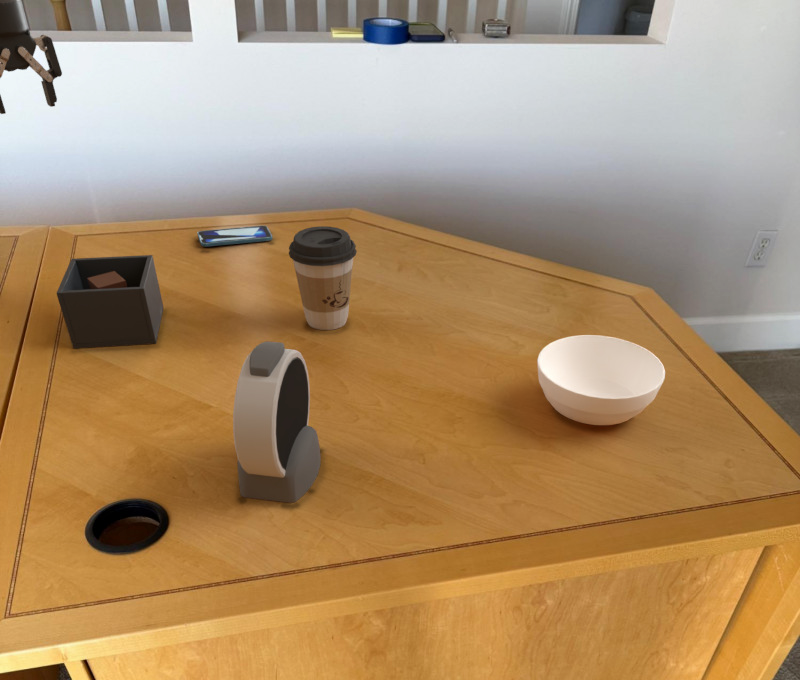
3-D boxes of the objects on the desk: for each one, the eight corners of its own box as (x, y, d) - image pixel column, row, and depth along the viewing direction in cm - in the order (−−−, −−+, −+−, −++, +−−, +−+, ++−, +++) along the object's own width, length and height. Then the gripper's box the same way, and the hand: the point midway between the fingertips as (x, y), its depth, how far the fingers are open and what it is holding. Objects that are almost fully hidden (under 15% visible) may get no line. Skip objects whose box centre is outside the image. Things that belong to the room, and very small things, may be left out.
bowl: (509, 390, 120) (514, 348, 115) (607, 367, 126) (616, 326, 121) (573, 454, 108) (582, 410, 103) (679, 425, 113) (692, 382, 108)
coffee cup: (320, 342, 131) (314, 256, 121) (282, 319, 137) (273, 235, 127) (372, 322, 137) (370, 237, 127) (332, 300, 143) (328, 218, 133)
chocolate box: (109, 332, 132) (97, 288, 126) (98, 322, 135) (86, 277, 129) (136, 324, 134) (126, 280, 129) (125, 314, 137) (114, 270, 131)
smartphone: (273, 237, 163) (201, 244, 160) (273, 241, 164) (202, 248, 160) (266, 224, 169) (196, 231, 165) (266, 229, 169) (197, 235, 165)
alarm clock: (301, 513, 98) (288, 389, 86) (224, 504, 99) (201, 380, 87) (332, 441, 110) (324, 322, 98) (263, 433, 111) (247, 315, 99)
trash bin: (73, 348, 129) (56, 293, 123) (86, 311, 139) (71, 258, 133) (156, 343, 131) (143, 288, 124) (163, 307, 141) (152, 254, 134)
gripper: (-45, 4, 119) (-9, 120, 130) (47, -4, 125) (75, 107, 136) (-58, -2, 123) (-22, 111, 134) (32, -9, 130) (60, 99, 141)
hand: (27, 109), depth 135 cm, fingers open, 8 cm apart
